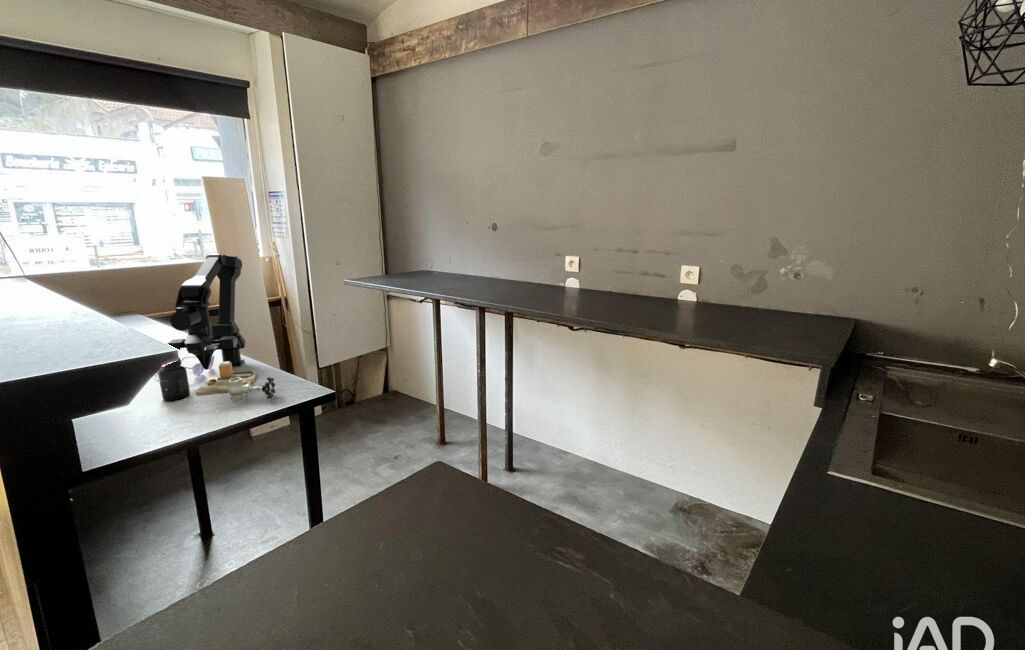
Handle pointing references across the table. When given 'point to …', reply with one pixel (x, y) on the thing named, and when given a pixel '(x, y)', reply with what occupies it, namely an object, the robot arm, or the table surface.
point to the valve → (248, 389)
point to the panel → (224, 383)
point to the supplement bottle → (174, 382)
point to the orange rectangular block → (225, 369)
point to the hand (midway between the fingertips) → (206, 369)
